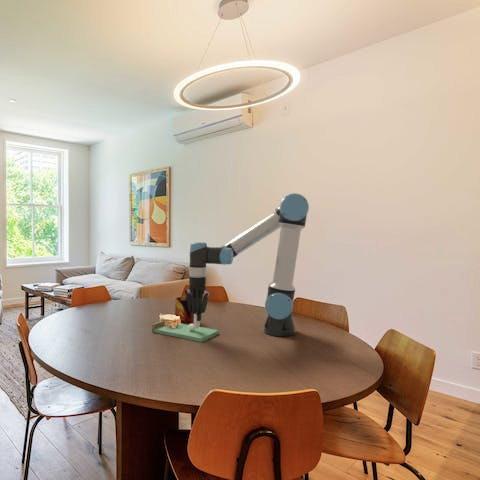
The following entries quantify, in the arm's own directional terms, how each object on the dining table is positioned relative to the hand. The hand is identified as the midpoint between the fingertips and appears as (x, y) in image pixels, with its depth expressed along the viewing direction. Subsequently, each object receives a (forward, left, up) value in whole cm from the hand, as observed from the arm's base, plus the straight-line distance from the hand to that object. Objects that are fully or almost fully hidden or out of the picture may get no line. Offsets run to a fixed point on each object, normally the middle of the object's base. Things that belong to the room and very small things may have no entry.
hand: (196, 327), depth 156 cm
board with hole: (+6, 0, -3) cm, 7 cm away
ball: (+3, 0, 0) cm, 3 cm away
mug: (+17, -16, -4) cm, 24 cm away
